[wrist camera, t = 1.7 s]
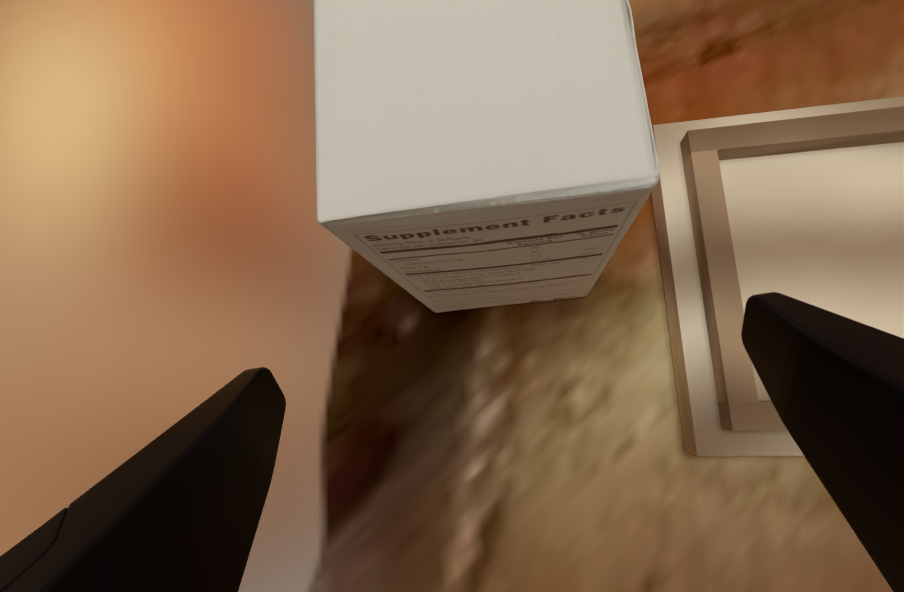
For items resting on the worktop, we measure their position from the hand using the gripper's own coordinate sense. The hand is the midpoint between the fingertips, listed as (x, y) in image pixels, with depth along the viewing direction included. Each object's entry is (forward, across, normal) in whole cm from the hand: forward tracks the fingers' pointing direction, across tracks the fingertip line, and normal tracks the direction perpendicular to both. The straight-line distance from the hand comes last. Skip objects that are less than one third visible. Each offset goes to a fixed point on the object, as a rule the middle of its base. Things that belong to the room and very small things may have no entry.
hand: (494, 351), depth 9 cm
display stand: (+10, -14, +7) cm, 19 cm away
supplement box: (+14, 0, +4) cm, 14 cm away
